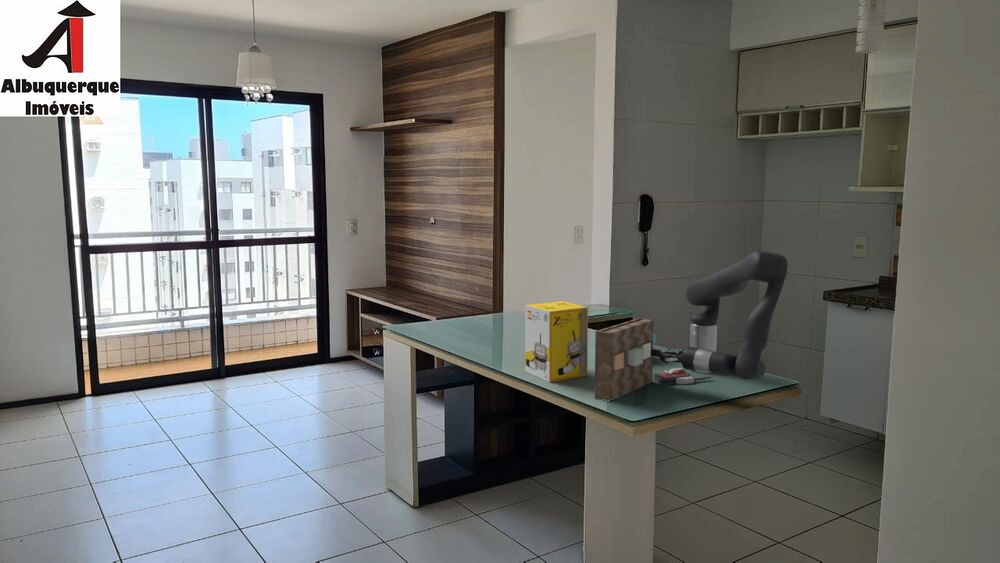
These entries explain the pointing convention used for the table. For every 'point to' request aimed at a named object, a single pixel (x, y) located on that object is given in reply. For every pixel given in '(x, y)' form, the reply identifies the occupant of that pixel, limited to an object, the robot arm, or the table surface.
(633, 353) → the sage key
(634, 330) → the keypad panel
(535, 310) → the packaging box
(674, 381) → the walkie-talkie
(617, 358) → the terracotta key
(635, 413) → the table surface
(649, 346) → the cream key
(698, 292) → the robot arm
